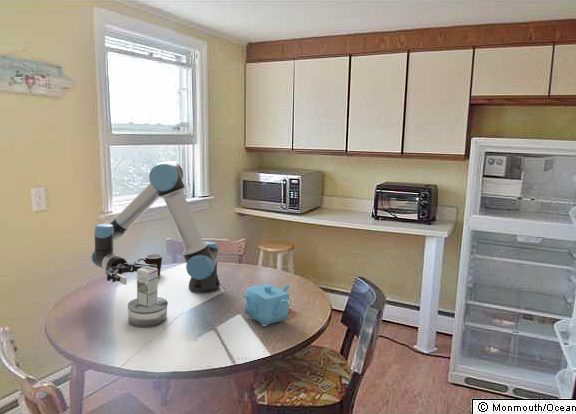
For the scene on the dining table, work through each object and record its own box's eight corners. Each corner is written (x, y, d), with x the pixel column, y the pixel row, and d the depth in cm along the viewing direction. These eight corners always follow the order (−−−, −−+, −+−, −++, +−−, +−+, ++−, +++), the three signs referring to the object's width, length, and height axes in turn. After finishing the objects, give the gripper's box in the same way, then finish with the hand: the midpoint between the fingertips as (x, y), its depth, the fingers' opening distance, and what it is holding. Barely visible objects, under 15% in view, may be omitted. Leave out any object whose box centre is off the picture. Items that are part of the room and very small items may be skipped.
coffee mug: (164, 272, 221) (165, 254, 219) (158, 278, 213) (158, 259, 211) (143, 270, 222) (143, 252, 220) (136, 275, 214) (136, 257, 212)
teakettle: (248, 309, 182) (249, 277, 179) (290, 312, 180) (292, 280, 178) (239, 328, 163) (241, 292, 161) (287, 332, 162) (289, 297, 159)
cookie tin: (162, 310, 175) (162, 294, 174) (171, 324, 163) (171, 308, 161) (125, 315, 168) (125, 299, 167) (130, 331, 155) (131, 313, 154)
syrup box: (158, 302, 166) (158, 267, 163) (147, 307, 160) (148, 271, 158) (146, 299, 168) (147, 265, 166) (136, 304, 163) (136, 269, 160)
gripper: (141, 267, 188) (168, 279, 175) (85, 279, 169) (111, 294, 156) (141, 251, 187) (168, 262, 174) (85, 261, 168) (111, 274, 155)
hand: (141, 277), depth 165 cm, fingers open, 13 cm apart
